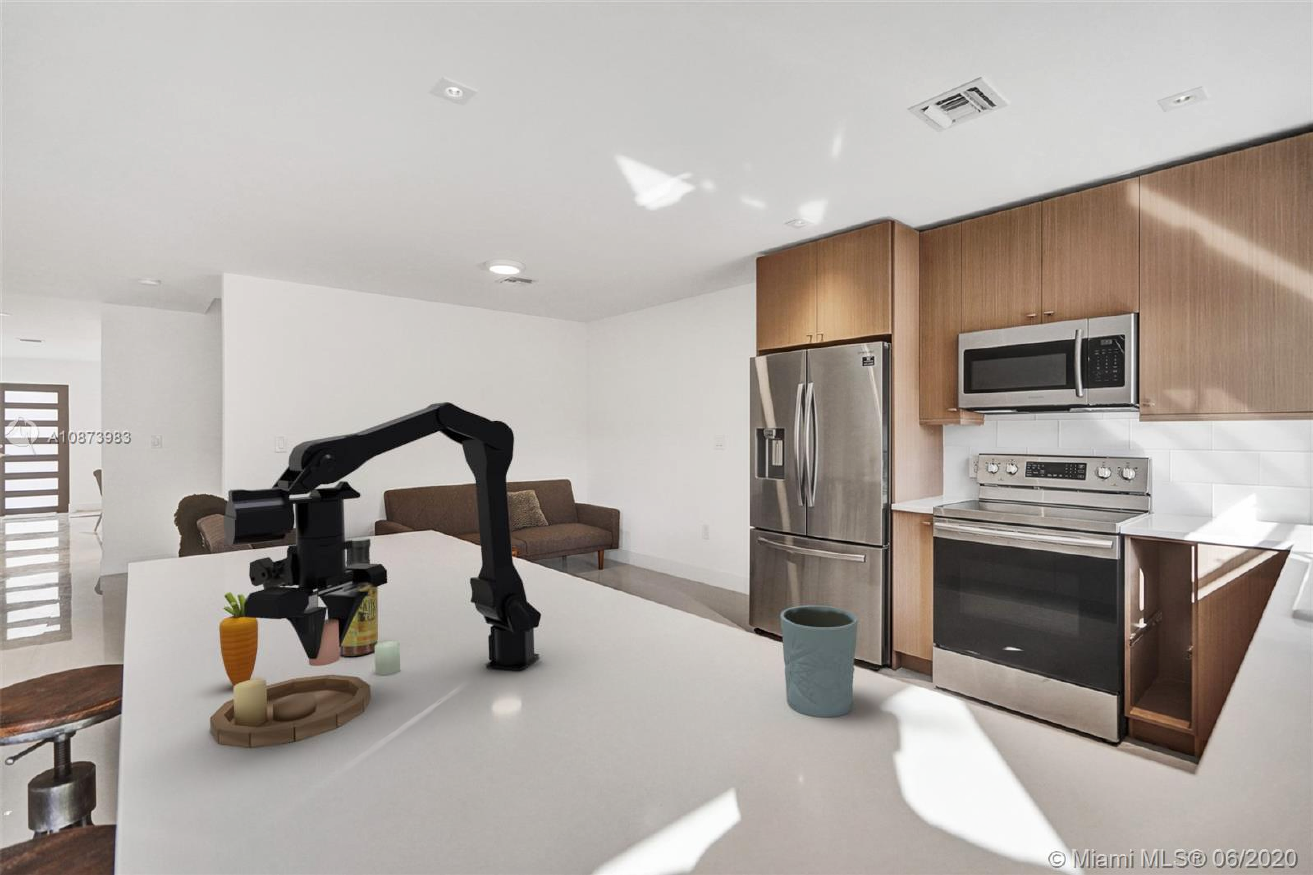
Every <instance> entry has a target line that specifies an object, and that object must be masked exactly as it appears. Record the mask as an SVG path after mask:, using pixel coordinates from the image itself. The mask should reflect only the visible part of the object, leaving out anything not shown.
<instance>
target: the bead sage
mask: <svg viewBox="0 0 1313 875" xmlns="http://www.w3.org/2000/svg"><path fill="white" fill-rule="evenodd" d="M400 654H401V651H400V641H398V640H386V641H381V642H377V644H376V645H375V650H374V668H375V669H374V670H375V672H374V673H375V675H377V676H390V675H394V674H396V673H398V672H401V655H400Z"/></svg>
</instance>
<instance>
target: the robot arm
mask: <svg viewBox="0 0 1313 875" xmlns="http://www.w3.org/2000/svg"><path fill="white" fill-rule="evenodd" d="M438 432H439V433H441V434H443V435H444V436H445V437H446V438H448V439H449V440H451V441H453V442H455V443H457V444H459V445H461V446H462V451H463V455H464V459H465V461H466V464H467V465H468V468H469V469H470V471H471V473H472V475H473V476H474V479H475V492H476V501H477V502H476V503H477V515H478V516H477V517H478V528H479V542H480V552H481V568H480V571H479V574H478V575H477V576H476V577H475V576H474V577H470V578H469V584H470V588H471V598H470V603H473V604H474V605H475V609H476V611H477V612H478V613H479V614H481V615H482V616H483V618H484V620H485V623H486V624H487V625H491V626H490V627H489V628H490V634H488V637H487V638H488V641H487V642H488V659H489V662H487V663H486V664H485V666H486V667H485V668H487V669H496V670H497V669H498V670H511V671H523V670H525V669H526V668H528V666H530V665H531V664H533V662H535V661H536V660H537V659H539V658H540V654H539V653H535V633H534V632H535V630H534V629H535V628H538V627H539V626H540V622H541V618H542V614H541V612H540V611H539V610H537V609H536V608H535V607H534V606H533V605H531V603H529V602H528V599H527V594H526V590H525V586H524V583H523V578H522V577H521V576H520V573H519V572H518V570H517V568H516V567H515V564H514V559H513V548H512V536H511V524H510V523H511V522H510V509H509V499H508V498H509V497H508V485H507V475H508V472H509V469H510V466H511V464H512V460H513V459H514V445H515V435H514V431H513V429H512V428H511V427H510V426H509V425H508V424H507V423H506V422H504V421H502V420H491V419H488V418H486V417H485V416H482V415H479V414H476V413H473V412H471V411H468V410H466V409H463V408H461V407H459V406H457V405H455V404H454V403H452V402H448V401H445V402H436V403H431V404H429V405H428V406H426V407H425V408H421V409H419V410H417V411H413V412H411V413H408V414H406V415H402V416H400V417H396V418H395V419H391V420H388V421H386V422H382V423H381V424H377V425H374V426H372V427H369V428H366V429H363V430H361V431H358V432H354V433H349V434H341V435H335V436H329V437H324V438H323V437H321V438H318V439H317V438H316V439H311V440H306V441H303V442H300V443H299V444H297V445H296V446H294V447H293V448H292V451H291V452H290V454H289V457H288V462H287V464H288V466H287V468H286V469H285V470H284V472H282V473H281V475H280V477H279V478H278V479H277V480H276V481H275V483H274V485H272V487H271V488H262V489H240V488H239V489H230V490H228V492H227V495H228V496H227V497H228V499H227V502H226V506H225V515H223V530H224V536H225V539H226V540H225V541H226V543H227V545H228V546H229V547H238V546H244V545H245V546H246V545H253V544H261V543H268V542H269V543H270V542H277V541H283V540H284V539H285V538H286V536H287V535H286V534H291V533H292V531H293V530H294V527H295V544H292V545H291V544H290V545H288V548H287V550H286V557H284V558H283V559H279V560H275V561H274V560H272V559H271V557H269V556H267V557H262V558H259V559H255V560H253V561H250V562H249V571H248V572H249V574H248V577H249V579H250V582H251V585H252V586H253V587H258V586H262V587H263V589H259V590H257V591H253V592H250V593H249V594H248V596H246V597H245V601H244V614H245V617H250V618H256V619H269V620H284V619H286V620H287V621H289V623H290V625H291V626H292V628H293V629H294V631H295V632H296V635H297V637H298V639H299V641H300V643H301V646H302V648H303V650H304V652H305V654H306V657H307V658H308V660H309V659H316V658H317V657H318V653H319V649H320V645H321V639H322V633H323V627H324V621H325V620H326V615H327V619H336V620H338V621H339V649H340V646H341V644H342V642H343V640H344V638H345V635H346V633H347V631H348V629H349V627H350V625H351V622H352V620H353V618H354V616H355V614H356V612H357V611H358V609H359V607H360V605H361V603H362V601H363V599H364V598H365V597H366V596H368V592H367V591H360V586H359V583H362V582H363V583H368V584H369V585H370V586H371V587H377V586H378V587H380V586H383V585H386V584H388V570H387V569H386V568H385V566H384V565H383V564H382V563H370V564H366V563H355V564H352V565H348V566H347V565H346V561H347V555H346V550H347V549H349V548H352V540H347V539H346V533H345V532H346V530H345V504H344V503H345V500H351V499H352V500H353V499H359V498H361V496H362V495H361V493H360V492H359V491H358V490H356V489H355V488H353V487H352V486H351V485H350V483H349V481H343V480H342V479H343V478H345V477H347V476H348V475H350V474H352V473H353V472H355V471H357V470H358V469H359V468H360V467H362V466H363V465H364V464H365V463H367V462H368V461H371V460H372V459H373V458H374V457H375V458H376V457H378V456H380V455H382V454H385V453H387V452H390V451H392V450H395V449H397V448H400V447H402V446H405V445H408V444H409V443H410V444H411V443H412V442H415V441H418V440H420V439H423V438H425V437H428V436H431V435H433V434H435V433H438ZM337 482H338V483H337ZM334 483H337V484H336V485H335V486H333V487H322V488H319V486H321V485H330V484H334ZM308 494H309V495H308ZM297 495H301V497H293V498H292V497H291V498H290V496H297ZM302 495H308V496H302ZM295 586H296V587H295ZM319 598H320V600H321V601H322V602H323V604H324V606H319Z"/></svg>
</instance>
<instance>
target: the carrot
mask: <svg viewBox="0 0 1313 875" xmlns="http://www.w3.org/2000/svg"><path fill="white" fill-rule="evenodd" d="M224 598H225V599H226V601H227V602H228V604H229V605H230V606H231V607H230V606H224V607H223V609H224V610H225V611H226V612H228V613H229V614H231V616H229V617H227V618H224V619H223V620H221V621H220V623H219V626H218V627H219V628H218V630H219V643H220V654H221V658H222V662H223V665H224V670H225V673H226V676H227V677H228V679H229V681H230V683H231V684H232V686H233V687H234V686H235V685H236V684H238V683H241V682H244V681H247V680H251V678H252V675H253V673H254V670H255V665H256V662H257V655H258V648H259V647H258V646H259V645H258V644H259V642H258V641H259V622H258V618H250V617H245V614H244V601H245V599H246V597H245V596H244V595H243V594H238V595H237V599H238V601H237V599H236V598H235V596H234V595H233V593H232V592H231V591H230V592H226V593H225V594H224ZM238 602H239V603H238Z"/></svg>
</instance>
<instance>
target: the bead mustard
mask: <svg viewBox="0 0 1313 875" xmlns="http://www.w3.org/2000/svg"><path fill="white" fill-rule="evenodd" d="M266 686H267V680H266V679H264V678H255V679H250V680H247V681H244V682H241V683H238V684H236V685H235V686H233V689H232V690H233V699H234V725H238V726H246V727H256V726H258V725H261V724H263V723H264V722H266V721H267V690H266Z"/></svg>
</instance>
